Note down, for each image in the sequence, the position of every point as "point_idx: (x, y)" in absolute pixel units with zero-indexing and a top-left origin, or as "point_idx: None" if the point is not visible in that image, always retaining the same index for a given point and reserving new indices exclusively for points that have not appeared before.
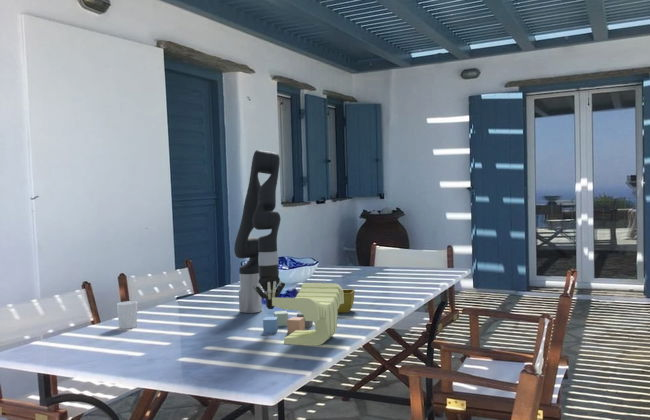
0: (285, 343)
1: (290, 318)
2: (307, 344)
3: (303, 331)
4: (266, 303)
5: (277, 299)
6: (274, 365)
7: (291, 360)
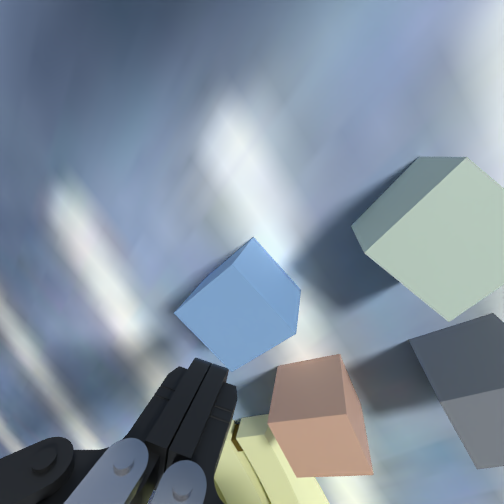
0: None
1: (304, 423)
2: None
3: (263, 468)
4: (152, 401)
5: None
6: None
7: None
